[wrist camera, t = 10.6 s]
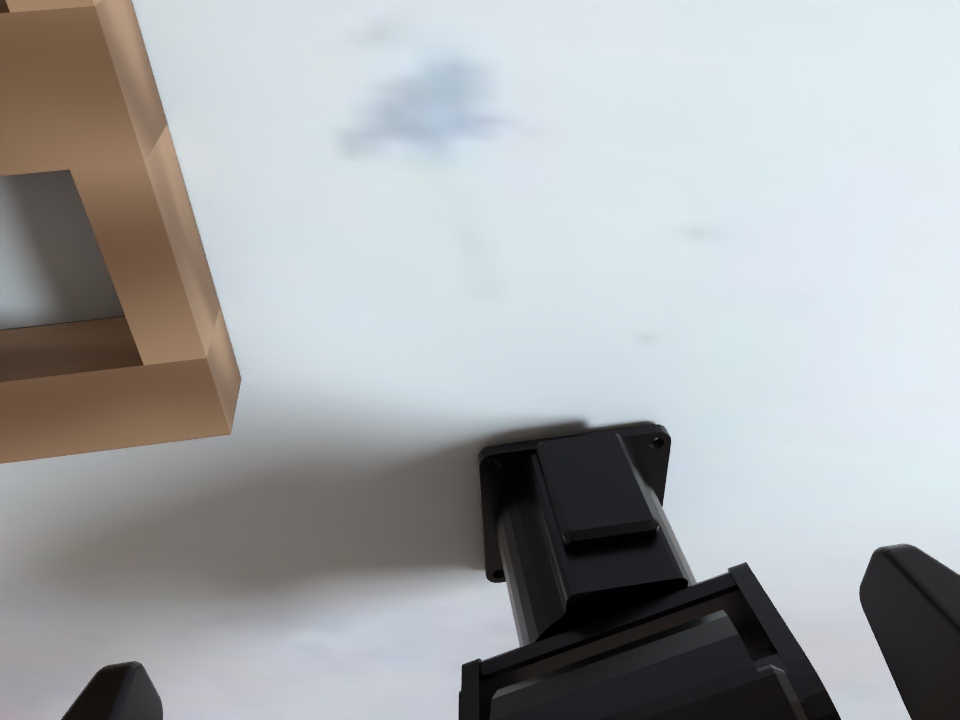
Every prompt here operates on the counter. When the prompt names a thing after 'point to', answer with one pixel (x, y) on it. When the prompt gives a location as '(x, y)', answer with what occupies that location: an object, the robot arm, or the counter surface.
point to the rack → (108, 245)
